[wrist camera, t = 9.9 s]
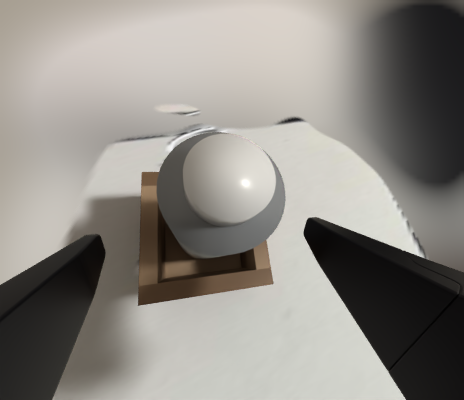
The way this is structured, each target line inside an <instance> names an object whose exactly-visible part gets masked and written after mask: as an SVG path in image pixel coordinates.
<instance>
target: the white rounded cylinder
mask: <svg viewBox="0 0 464 400" xmlns="http://www.w3.org/2000/svg"><path fill="white" fill-rule="evenodd" d="M156 193H157V201H158V204H159V208H160V211H161V213H162V215H163V218H164V219H165V221H166V223H167V224H168V226H169V228H170V229H171V231H172V232H173V234H174V236H175V237H176V239H177V241H178V242H179V244H180V246H181V247H182V249H183V250H184V251H185V253H187V254H188V255H189V256H191V257H193V258H196V259H209V258H214V257H220V256H226V255H231V254H237V253H241V252H245V251H247V250H250V249H253V248H254V247H256V246H258V245H260V244H261V243H262V242H264V241H265V240H266V239H267V238H268V237H269V236H270V235H271V234H272V233H273V232H274V230H275V229H276V228H277V226H278V224H279V222H280V220H281V218H282V215H283V212H284V207H285V188H284V183H283V180H282V176H281V174H280V172H279V170H278V168H277V166H276V164H275V163H274V161H273V160H272V159H271V158H270V156H269V155H268V154H267V153H266V152H265V151H264V150H263V149H261V148H260V147H259V146H258V145H257V144H255V143H254V142H252V141H251V140H249V139H247V138H244V137H242V136H239V135H234V134H229V133H221V132H213V133H205V134H200V135H197V136H194V137H191V138H189V139H187V140H185V141H184V142H182V143H180V144H179V145H178V146H177V147H175V148H174V149H173V150H172V151H171V152H170V153H169V155H168V156H167V158H166V159H165V160H164V162H163V164H162V166H161V168H160V171H159V174H158V179H157V190H156Z"/></svg>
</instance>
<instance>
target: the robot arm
mask: <svg viewBox="0 0 464 400" xmlns="http://www.w3.org/2000/svg"><path fill="white" fill-rule="evenodd" d="M304 237H305V239H306V241H307V243H308V245H309V247H310V249H311V250H312V252H313V254H314V256H315V258H316V260H317V262H318V264H319V265H320V267H321V268H322V270H323V272H324V273H325V275H326V276H327V278H328V279H329V281H330V282H331V284H332V285H333V287H334V289H335V290H336V292H337V293H338V295H339V296H340V298H341V299H342V301H343V302H344V304H345V306H346V307H347V309H348V310H349V312H350V313H351V315H352V316H353V318H354V319H355V321H356V323H357V324H358V326H359V327H360V329H361V330H362V332H363V333H364V335H365V336H366V338H367V340H368V341H369V343H370V344H371V346H372V347H373V349H374V350H375V352H376V354H377V355H378V357H379V358H380V360H381V361H382V363H383V364H384V366H385V367H386V369H387V370H388V371H389V374H390V375H391V377H392V379H393V380H394V382H395V383H396V385H397V386H398V388H399V389H400V391H401V393H402V394H403V396H404V397H405V399H406V400H464V272H461V271H458V270H455V269H452V268H449V267H447V266H444V265H441V264H438V263H435V262H433V261H430V260H427V259H425V258H422V257H419V256H417V255H414V254H411V253H409V252H406V251H402V250H401V249H398V248H396V247H393V246H390V245H388V244H385V243H383V242H380V241H377V240H375V239H372V238H369V237H367V236H364V235H362V234H359V233H356V232H354V231H351V230H349V229H346V228H343V227H341V226H338V225H336V224H333V223H330V222H328V221H325V220H323V219H320V218H317V217H312V218H308V219H307V222H306V225H305V229H304ZM104 259H105V249H104V245H103V242H102V239H101V236H100V235H98V234H93V235H85V236H84V237H82V238H80V239H78V240H77V241H75V242H73V243H72V244H70V245H68V246H66V247H65V248H63V249H61V250H60V251H58V252H56V253H54V254H53V255H51V256H49V257H48V258H46V259H44V260H42V261H41V262H39V263H37V264H36V265H34V266H32V267H31V268H29V269H27V270H25V271H24V272H22V273H20V274H18V275H17V276H15V277H13V278H12V279H10V280H8V281H6V282H5V283H3V284H1V285H0V400H52V398H53V396H54V394H55V391H56V389H57V386H58V384H59V381H60V379H61V376H62V374H63V371H64V369H65V366H66V364H67V362H68V359H69V357H70V354H71V352H72V349H73V347H74V344H75V342H76V339H77V337H78V334H79V332H80V329H81V327H82V325H83V322H84V320H85V317H86V315H87V312H88V310H89V307H90V305H91V302H92V300H93V297H94V294H95V291H96V288H97V284H98V281H99V277H100V273H101V270H102V266H103V263H104Z"/></svg>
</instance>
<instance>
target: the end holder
mask: <svg viewBox="0 0 464 400" xmlns="http://www.w3.org/2000/svg"><path fill="white" fill-rule="evenodd" d="M158 174H159V172H142V184H141V220H140V256H139V292H138V306H139V305H145V304H152V303H158V302H164V301H170V300H177V299H183V298H189V297H195V296H202V295H208V294H214V293H220V292H226V291H233V290H239V289H245V288H251V287H258V286H264V285H270V284H273V279H272V273H271V266H270V260H269V254H268V248H267V242H266V240H265V241H264V242H262V243H261V244H260V245H258V246H256V247H254V248H253V249H250V250H247V251H245V252H241V253H237V254H231V255H226V256H220V257H214V258H209V259H196V258H193V257H191V256H189V255H188V254H187V253H185V251H184V250H183V249H182V247H181V246H180V244H179V242H178V241H177V239H176V237H175V236H174V234H173V232H172V231H171V229H170V228H169V226H168V224H167V223H166V221H165V219H164V218H163V215H162V213H161V211H160V208H159V204H158V201H157V193H156V190H157V179H158Z"/></svg>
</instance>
